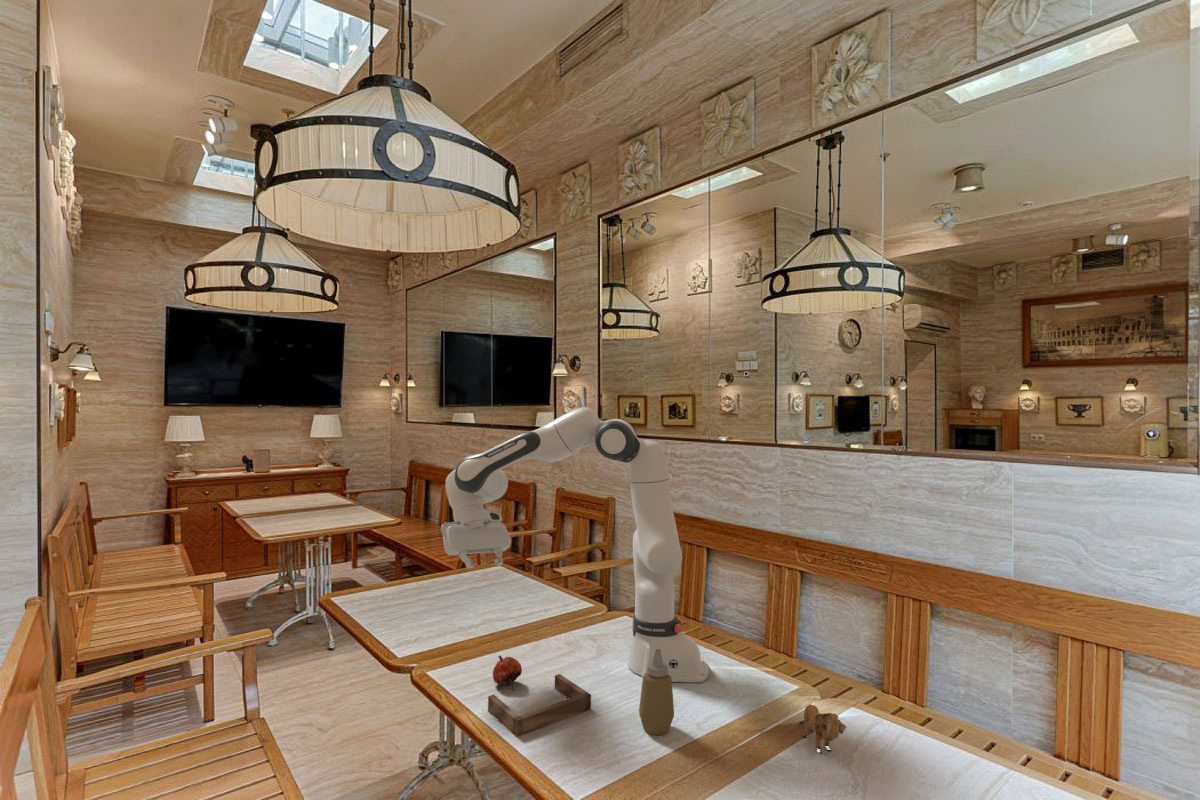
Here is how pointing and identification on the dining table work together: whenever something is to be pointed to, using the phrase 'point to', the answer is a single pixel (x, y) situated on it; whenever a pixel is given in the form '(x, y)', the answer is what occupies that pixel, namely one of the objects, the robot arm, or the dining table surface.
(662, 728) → the squeeze bottle
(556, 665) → the dining table surface
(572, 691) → the walnut bay
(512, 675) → the red round fruit
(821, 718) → the lion figurine
